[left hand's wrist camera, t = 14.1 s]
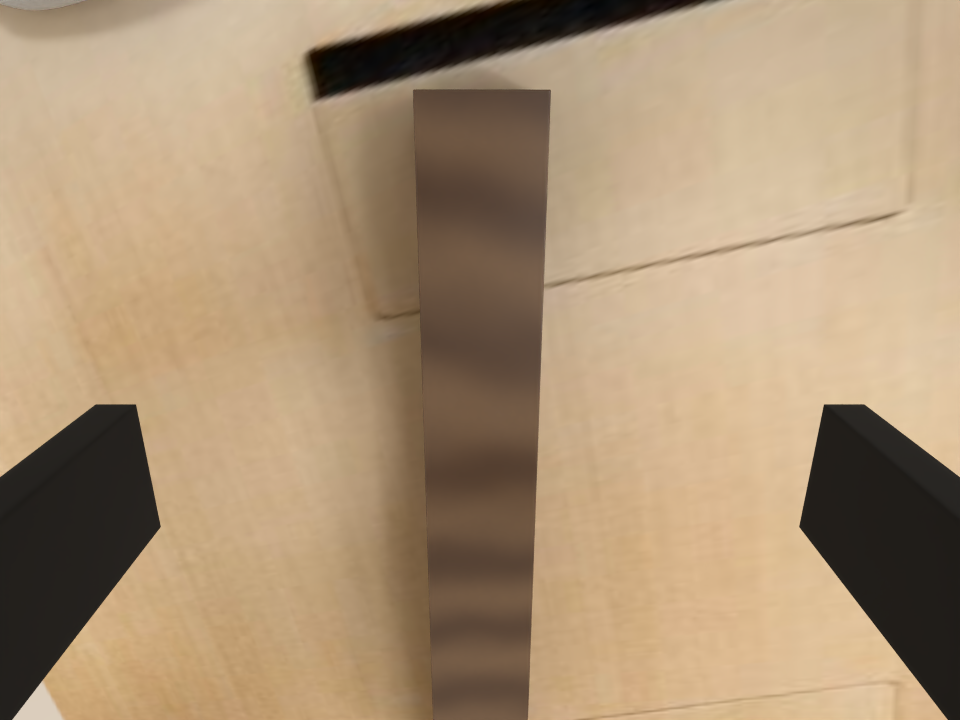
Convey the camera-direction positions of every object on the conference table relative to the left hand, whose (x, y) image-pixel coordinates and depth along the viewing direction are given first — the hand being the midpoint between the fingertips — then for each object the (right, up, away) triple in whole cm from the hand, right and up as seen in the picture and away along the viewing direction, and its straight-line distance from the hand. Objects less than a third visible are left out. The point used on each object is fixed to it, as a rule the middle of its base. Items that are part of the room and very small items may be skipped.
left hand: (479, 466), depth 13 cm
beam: (0, -5, +32) cm, 32 cm away
